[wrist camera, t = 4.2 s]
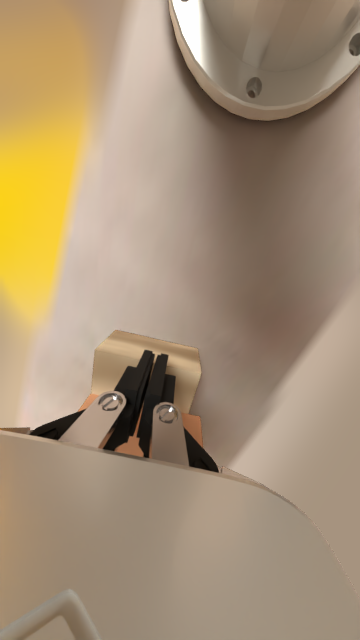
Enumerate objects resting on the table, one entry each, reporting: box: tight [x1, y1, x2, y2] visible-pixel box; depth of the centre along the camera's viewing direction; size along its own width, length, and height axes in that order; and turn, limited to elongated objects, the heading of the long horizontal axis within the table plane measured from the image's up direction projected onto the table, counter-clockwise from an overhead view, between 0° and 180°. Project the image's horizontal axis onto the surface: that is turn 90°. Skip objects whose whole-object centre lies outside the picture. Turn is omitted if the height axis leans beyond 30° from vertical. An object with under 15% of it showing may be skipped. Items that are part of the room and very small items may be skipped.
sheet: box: [91, 330, 201, 414], centre depth 17 cm, size 16×8×4 cm, turn 167°
